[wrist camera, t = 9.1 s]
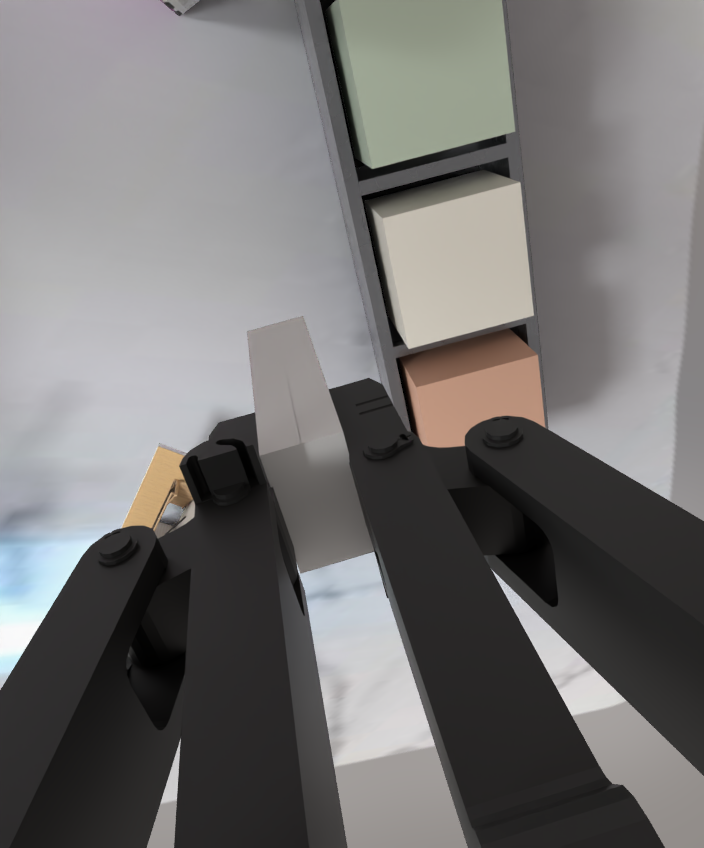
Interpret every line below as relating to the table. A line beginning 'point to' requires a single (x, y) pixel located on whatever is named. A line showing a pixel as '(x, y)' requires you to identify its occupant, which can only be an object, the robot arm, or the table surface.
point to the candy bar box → (180, 5)
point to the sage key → (420, 75)
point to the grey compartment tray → (356, 182)
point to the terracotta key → (470, 386)
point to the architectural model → (161, 493)
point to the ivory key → (452, 256)
